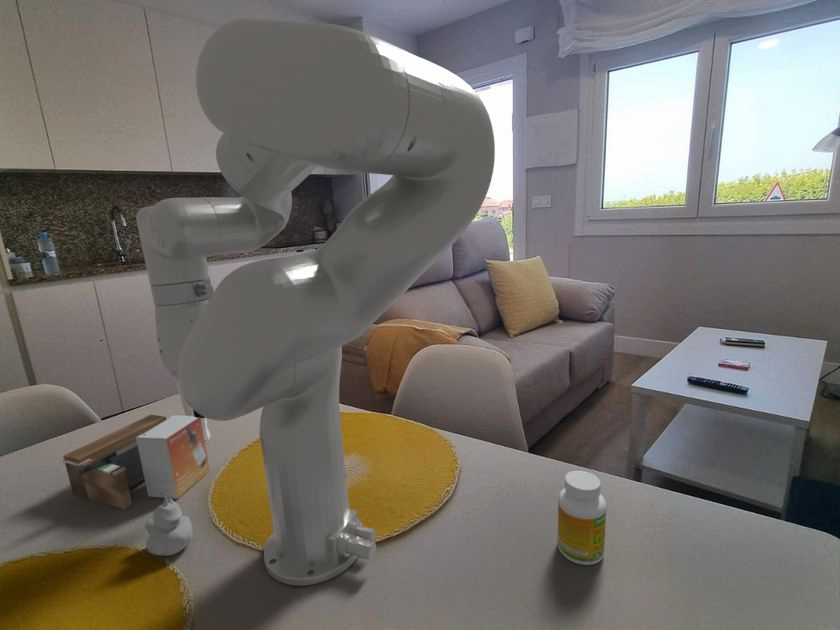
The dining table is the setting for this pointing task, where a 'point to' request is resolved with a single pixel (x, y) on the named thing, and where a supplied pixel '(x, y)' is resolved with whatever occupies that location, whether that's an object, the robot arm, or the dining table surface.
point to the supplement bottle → (581, 518)
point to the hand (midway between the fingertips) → (207, 413)
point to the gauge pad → (120, 463)
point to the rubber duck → (168, 529)
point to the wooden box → (106, 465)
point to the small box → (173, 456)
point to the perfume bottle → (189, 412)
